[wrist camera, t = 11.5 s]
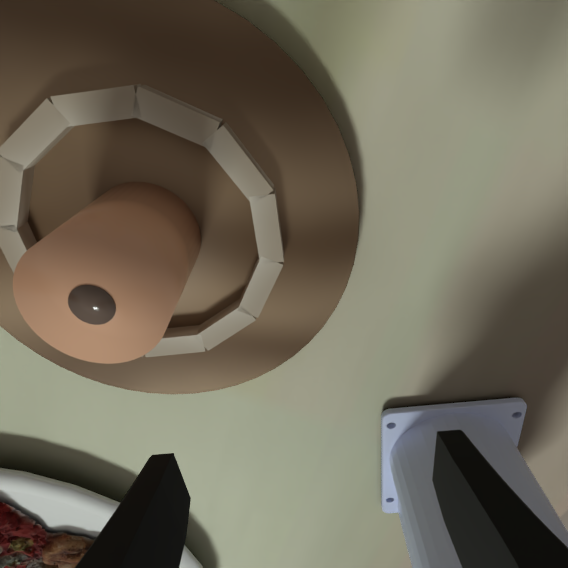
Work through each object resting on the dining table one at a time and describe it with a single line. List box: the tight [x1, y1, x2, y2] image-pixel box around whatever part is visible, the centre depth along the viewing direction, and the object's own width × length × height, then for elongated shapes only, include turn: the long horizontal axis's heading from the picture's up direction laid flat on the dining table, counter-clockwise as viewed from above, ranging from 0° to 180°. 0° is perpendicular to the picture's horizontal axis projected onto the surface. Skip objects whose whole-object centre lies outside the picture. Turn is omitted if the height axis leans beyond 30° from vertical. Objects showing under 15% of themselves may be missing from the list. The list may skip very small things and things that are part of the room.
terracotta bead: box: [13, 182, 201, 364], centre depth 15 cm, size 5×5×6 cm
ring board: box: [0, 0, 359, 394], centre depth 17 cm, size 18×18×2 cm
